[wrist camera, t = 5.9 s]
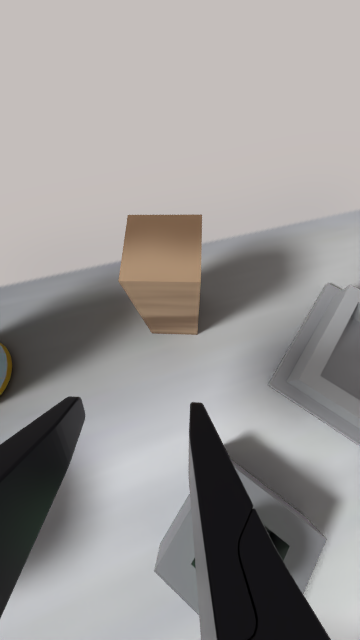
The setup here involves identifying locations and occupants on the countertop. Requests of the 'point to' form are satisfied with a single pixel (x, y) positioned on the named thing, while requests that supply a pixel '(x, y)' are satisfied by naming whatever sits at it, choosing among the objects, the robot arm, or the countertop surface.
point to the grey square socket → (326, 362)
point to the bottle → (4, 367)
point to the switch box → (278, 519)
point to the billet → (163, 270)
